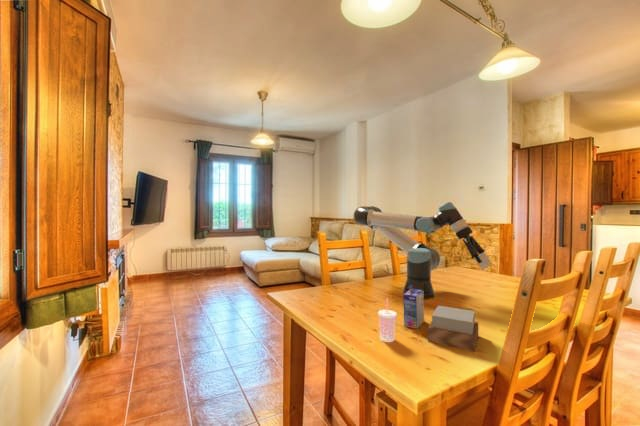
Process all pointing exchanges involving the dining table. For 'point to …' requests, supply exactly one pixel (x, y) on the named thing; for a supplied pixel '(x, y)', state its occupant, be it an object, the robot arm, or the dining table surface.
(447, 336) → the walnut base slab
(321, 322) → the dining table surface
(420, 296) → the ink cartridge box
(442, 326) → the grey top slab
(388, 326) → the beverage cup
